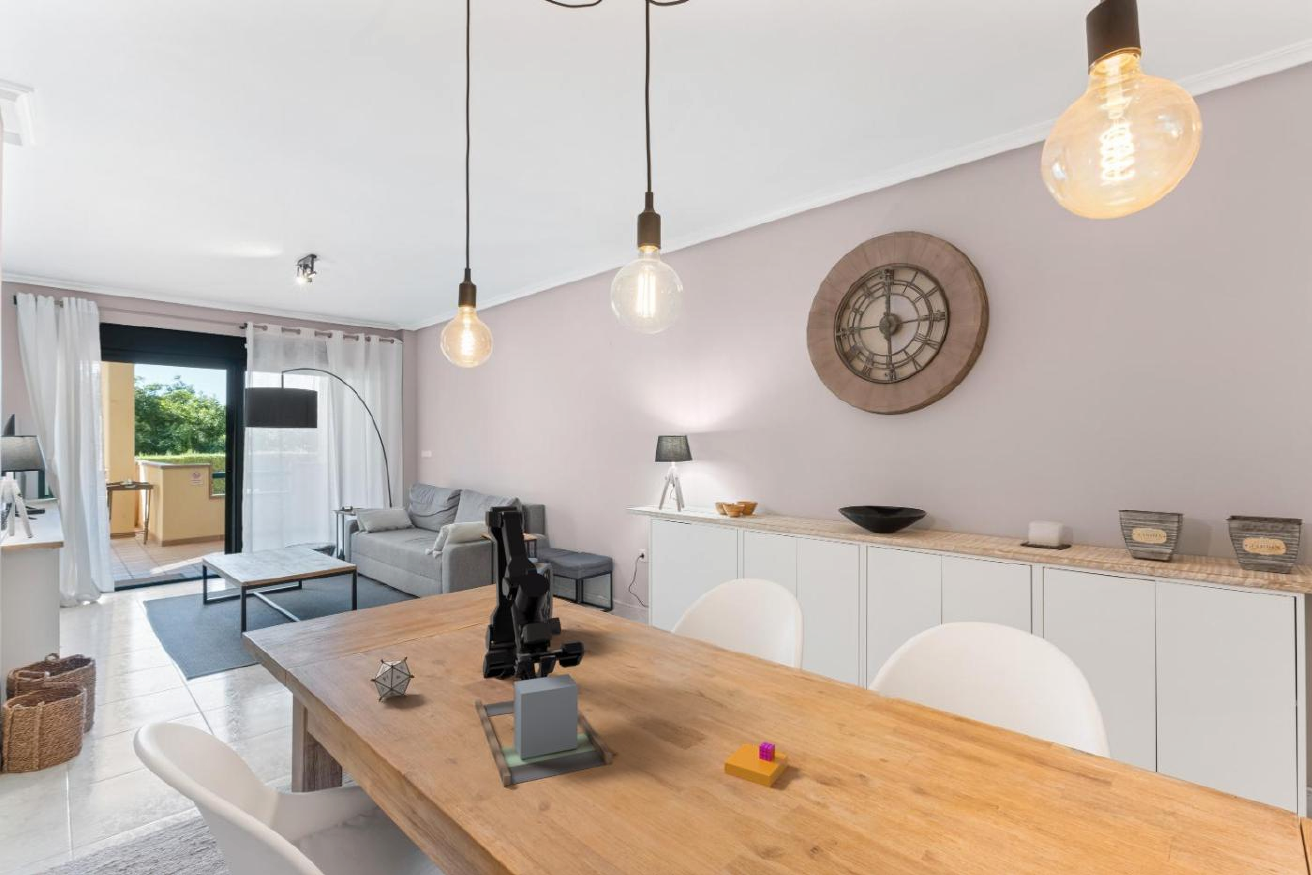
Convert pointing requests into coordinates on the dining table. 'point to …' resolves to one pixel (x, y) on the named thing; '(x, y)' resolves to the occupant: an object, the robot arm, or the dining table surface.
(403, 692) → the game die
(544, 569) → the alarm clock
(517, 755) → the channel
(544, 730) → the slate block
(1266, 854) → the dining table surface
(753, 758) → the flat orange slab
